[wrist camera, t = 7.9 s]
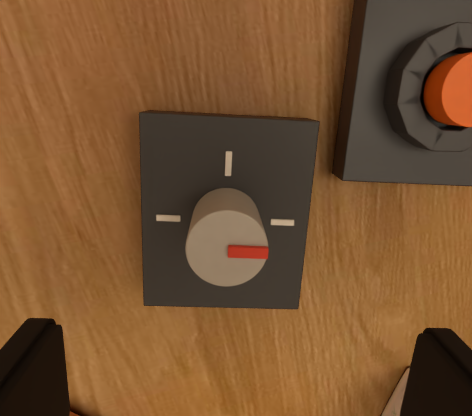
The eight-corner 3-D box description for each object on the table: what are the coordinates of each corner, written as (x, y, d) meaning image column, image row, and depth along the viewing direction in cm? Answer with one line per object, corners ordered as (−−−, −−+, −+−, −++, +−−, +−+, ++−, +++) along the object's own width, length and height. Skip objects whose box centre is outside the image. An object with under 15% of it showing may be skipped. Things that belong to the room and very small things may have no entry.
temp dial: (191, 249, 22) (183, 288, 18) (193, 185, 21) (185, 210, 17) (256, 252, 23) (265, 291, 18) (261, 189, 22) (272, 214, 17)
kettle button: (430, 52, 19) (450, 47, 17) (496, 56, 19) (523, 52, 18) (417, 123, 20) (434, 125, 18) (480, 126, 20) (503, 128, 19)
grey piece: (355, -13, 21) (384, -37, 18) (520, -1, 22) (583, -22, 18) (331, 173, 25) (352, 187, 21) (476, 179, 25) (522, 194, 21)
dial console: (149, 110, 23) (138, 112, 20) (307, 118, 23) (320, 121, 20) (151, 283, 26) (142, 307, 23) (290, 286, 27) (298, 311, 24)
